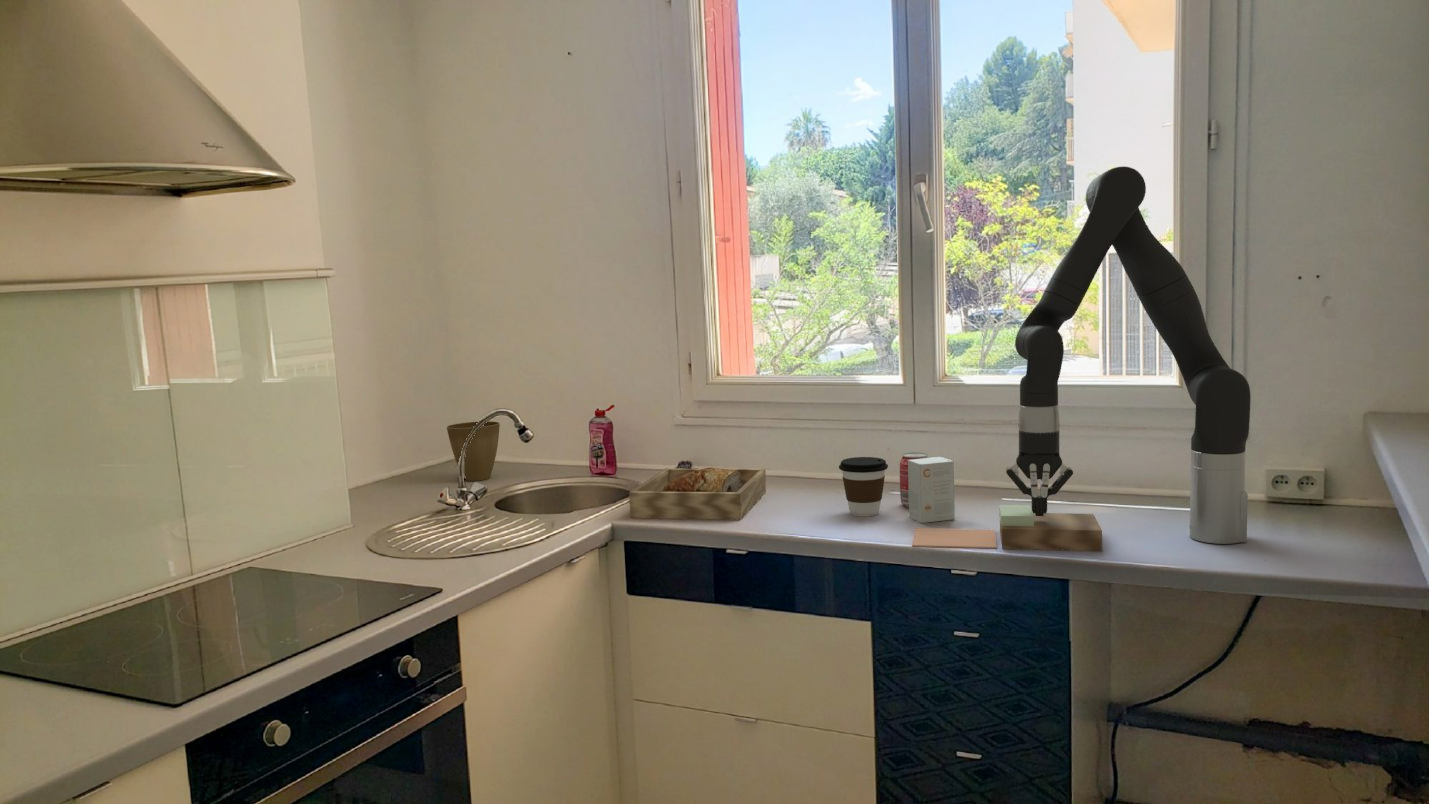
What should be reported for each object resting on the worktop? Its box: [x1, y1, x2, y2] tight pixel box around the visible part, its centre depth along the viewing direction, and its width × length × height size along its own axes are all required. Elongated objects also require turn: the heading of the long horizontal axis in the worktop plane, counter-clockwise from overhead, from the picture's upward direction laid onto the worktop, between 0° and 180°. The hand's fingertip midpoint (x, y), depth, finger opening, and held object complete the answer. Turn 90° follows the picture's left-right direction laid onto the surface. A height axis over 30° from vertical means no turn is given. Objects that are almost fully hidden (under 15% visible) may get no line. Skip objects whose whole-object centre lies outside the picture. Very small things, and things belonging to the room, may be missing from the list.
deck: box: [999, 512, 1103, 552], centre depth 191 cm, size 18×13×4 cm
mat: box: [911, 528, 997, 550], centre depth 196 cm, size 16×13×1 cm
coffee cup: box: [838, 456, 889, 517], centre depth 220 cm, size 11×11×12 cm
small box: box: [908, 456, 956, 524], centre depth 212 cm, size 8×6×13 cm
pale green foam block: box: [998, 504, 1034, 526], centre depth 192 cm, size 6×9×2 cm, turn 166°
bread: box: [660, 467, 742, 492], centre depth 234 cm, size 20×18×10 cm
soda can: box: [899, 451, 929, 508], centre depth 224 cm, size 7×7×12 cm
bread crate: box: [628, 468, 767, 521], centre depth 236 cm, size 26×28×6 cm
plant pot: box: [446, 420, 501, 482], centre depth 281 cm, size 15×15×16 cm
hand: (1039, 515), depth 191 cm, fingers closed
